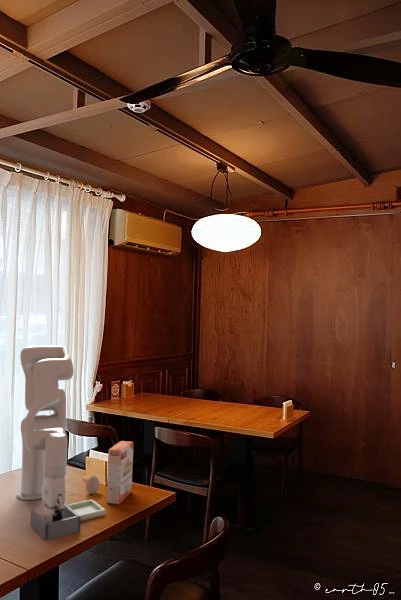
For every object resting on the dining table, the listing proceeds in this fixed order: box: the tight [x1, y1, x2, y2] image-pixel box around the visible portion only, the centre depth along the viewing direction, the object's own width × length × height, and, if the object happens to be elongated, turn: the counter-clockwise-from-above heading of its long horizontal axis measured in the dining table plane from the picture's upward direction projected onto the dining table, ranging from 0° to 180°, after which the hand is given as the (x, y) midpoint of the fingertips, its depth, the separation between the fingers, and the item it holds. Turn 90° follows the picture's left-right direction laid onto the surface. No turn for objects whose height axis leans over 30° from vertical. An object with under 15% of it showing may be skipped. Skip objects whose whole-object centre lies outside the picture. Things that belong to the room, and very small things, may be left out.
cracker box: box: [106, 440, 134, 505], centre depth 196 cm, size 14×6×21 cm, turn 168°
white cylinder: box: [43, 503, 63, 523], centre depth 169 cm, size 7×7×7 cm
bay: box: [29, 502, 82, 541], centre depth 168 cm, size 14×12×5 cm
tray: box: [67, 498, 106, 522], centre depth 180 cm, size 12×12×2 cm
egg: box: [85, 474, 100, 495], centre depth 199 cm, size 5×5×7 cm
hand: (53, 522), depth 169 cm, fingers closed on white cylinder, 6 cm apart
